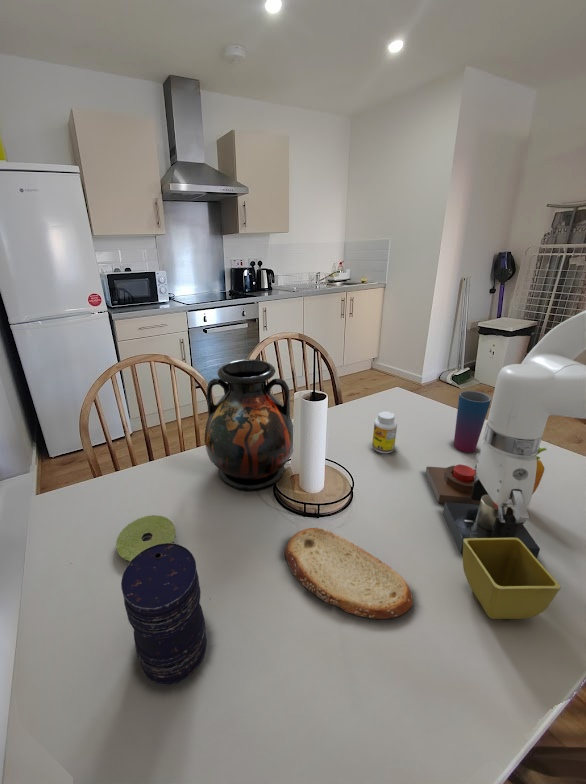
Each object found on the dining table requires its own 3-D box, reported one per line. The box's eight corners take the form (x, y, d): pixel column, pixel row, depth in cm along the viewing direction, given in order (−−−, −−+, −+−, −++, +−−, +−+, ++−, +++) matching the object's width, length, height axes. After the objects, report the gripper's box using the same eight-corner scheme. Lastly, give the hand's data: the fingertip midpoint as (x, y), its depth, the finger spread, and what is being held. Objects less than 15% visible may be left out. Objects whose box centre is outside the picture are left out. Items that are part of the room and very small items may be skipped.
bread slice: (422, 612, 55) (425, 595, 53) (310, 636, 52) (311, 619, 51) (366, 525, 71) (368, 510, 70) (279, 540, 69) (279, 525, 67)
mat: (138, 580, 62) (136, 572, 62) (107, 546, 70) (105, 539, 69) (188, 540, 70) (187, 533, 69) (155, 514, 77) (154, 507, 76)
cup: (485, 454, 91) (497, 401, 86) (458, 454, 91) (469, 402, 86) (470, 439, 97) (480, 389, 92) (444, 440, 98) (454, 390, 92)
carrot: (505, 493, 78) (521, 434, 72) (533, 504, 74) (553, 443, 69) (499, 505, 75) (516, 444, 69) (528, 517, 71) (549, 454, 66)
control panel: (507, 519, 71) (511, 506, 70) (535, 561, 62) (540, 548, 61) (442, 513, 73) (445, 501, 72) (460, 553, 64) (463, 540, 63)
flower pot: (452, 577, 60) (462, 537, 57) (506, 577, 59) (518, 536, 56) (483, 632, 52) (496, 588, 48) (545, 632, 51) (563, 588, 48)
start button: (469, 471, 79) (471, 465, 79) (476, 483, 76) (478, 476, 75) (450, 470, 80) (451, 464, 80) (456, 481, 77) (457, 475, 76)
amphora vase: (199, 500, 80) (185, 387, 70) (217, 447, 100) (208, 352, 90) (295, 504, 78) (296, 387, 67) (294, 449, 97) (294, 352, 87)
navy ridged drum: (213, 671, 49) (203, 595, 43) (139, 698, 46) (118, 621, 41) (200, 604, 58) (191, 534, 52) (138, 624, 55) (121, 553, 50)
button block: (480, 477, 83) (484, 463, 81) (500, 508, 74) (505, 493, 72) (425, 473, 85) (427, 459, 84) (438, 503, 76) (441, 488, 74)
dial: (472, 514, 69) (477, 492, 67) (495, 516, 68) (501, 494, 66) (481, 530, 65) (487, 507, 63) (505, 532, 64) (512, 509, 62)
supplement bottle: (368, 444, 98) (371, 411, 94) (386, 441, 99) (390, 408, 95) (378, 455, 93) (382, 421, 89) (398, 452, 94) (402, 418, 90)
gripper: (570, 471, 51) (539, 559, 57) (511, 414, 67) (492, 488, 73) (511, 467, 52) (487, 553, 59) (467, 412, 68) (452, 485, 75)
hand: (490, 517), depth 66 cm, fingers open, 9 cm apart
